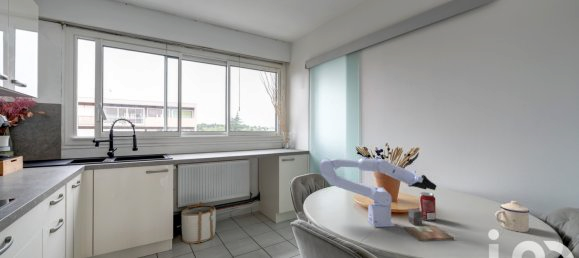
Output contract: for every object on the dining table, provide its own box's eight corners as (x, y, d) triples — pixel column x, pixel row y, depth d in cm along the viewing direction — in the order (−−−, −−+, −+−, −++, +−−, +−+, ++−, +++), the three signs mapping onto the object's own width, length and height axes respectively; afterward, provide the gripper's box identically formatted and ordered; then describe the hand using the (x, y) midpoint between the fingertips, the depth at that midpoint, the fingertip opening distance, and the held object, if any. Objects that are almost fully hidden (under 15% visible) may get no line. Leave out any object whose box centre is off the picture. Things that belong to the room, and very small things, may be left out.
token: (413, 225, 106) (413, 212, 106) (408, 221, 110) (408, 209, 110) (422, 225, 107) (422, 211, 107) (417, 221, 111) (416, 208, 111)
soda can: (438, 221, 110) (437, 196, 110) (422, 220, 111) (421, 195, 111) (432, 216, 117) (432, 192, 117) (417, 215, 118) (417, 191, 118)
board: (419, 240, 92) (419, 238, 92) (403, 228, 103) (403, 226, 103) (453, 239, 92) (453, 237, 92) (435, 227, 103) (434, 225, 103)
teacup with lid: (517, 224, 107) (517, 198, 107) (535, 233, 98) (535, 204, 98) (488, 223, 108) (488, 197, 108) (503, 231, 99) (503, 204, 99)
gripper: (411, 165, 101) (442, 179, 99) (398, 167, 115) (425, 179, 113) (405, 180, 100) (437, 194, 98) (393, 180, 114) (420, 193, 112)
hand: (430, 187), depth 105 cm, fingers open, 7 cm apart
